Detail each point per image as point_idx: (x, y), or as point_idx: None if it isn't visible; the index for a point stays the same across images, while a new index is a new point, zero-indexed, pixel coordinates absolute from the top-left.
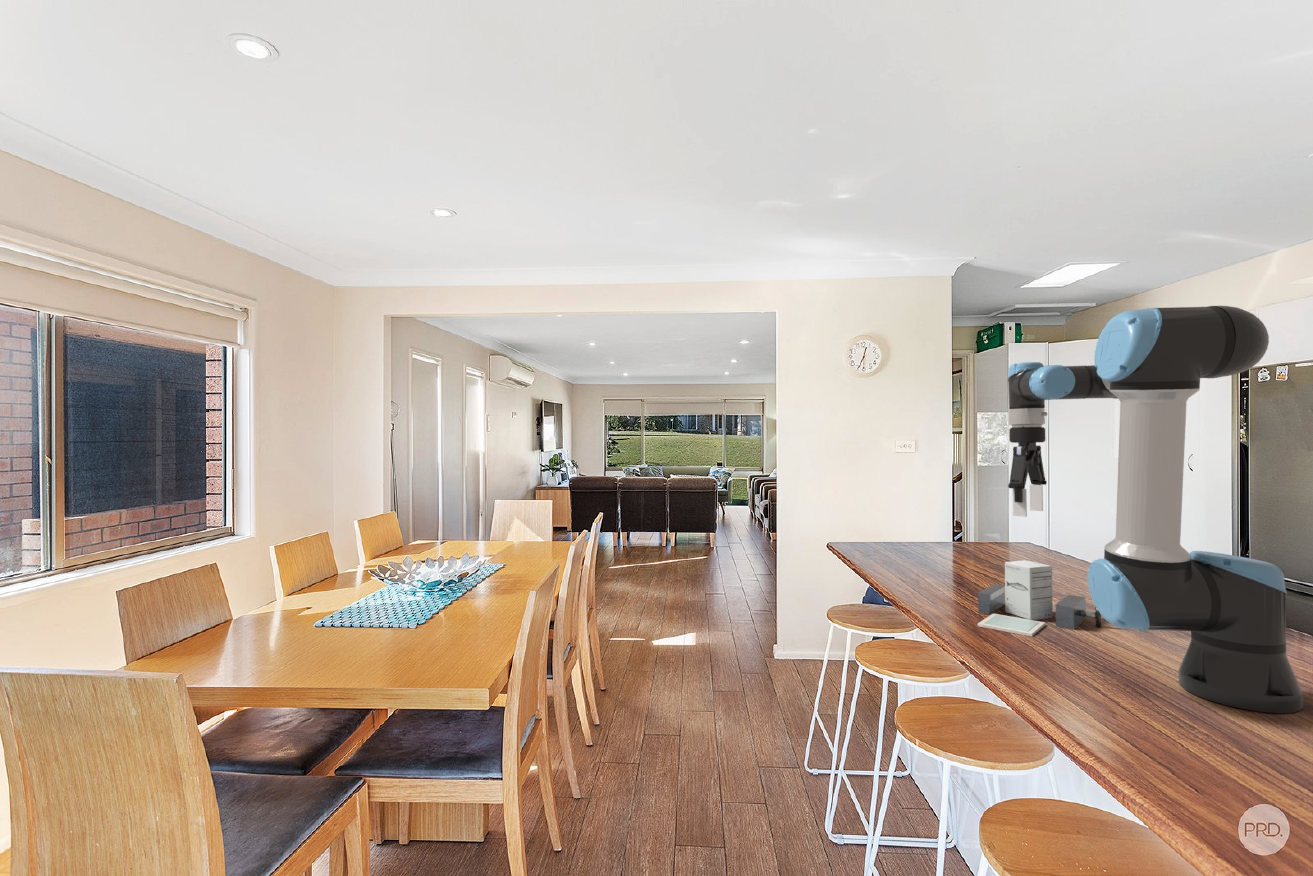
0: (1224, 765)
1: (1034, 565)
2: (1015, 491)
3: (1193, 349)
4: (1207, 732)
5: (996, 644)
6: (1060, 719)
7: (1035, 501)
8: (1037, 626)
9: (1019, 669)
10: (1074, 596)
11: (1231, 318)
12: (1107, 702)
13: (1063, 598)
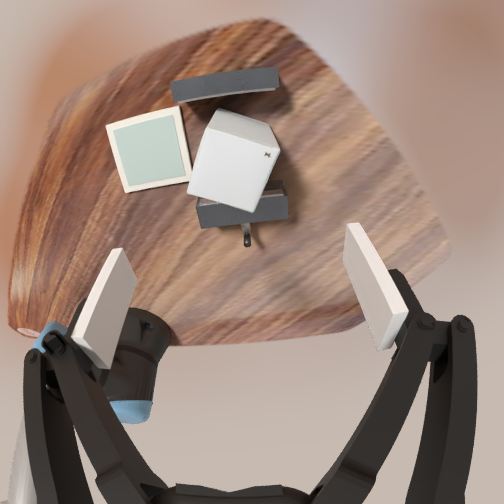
0: None
1: (220, 190)
2: (67, 337)
3: None
4: (70, 321)
5: (68, 182)
6: (15, 277)
7: (357, 268)
8: (163, 182)
9: (39, 231)
10: (280, 206)
11: None
12: (52, 286)
13: None
